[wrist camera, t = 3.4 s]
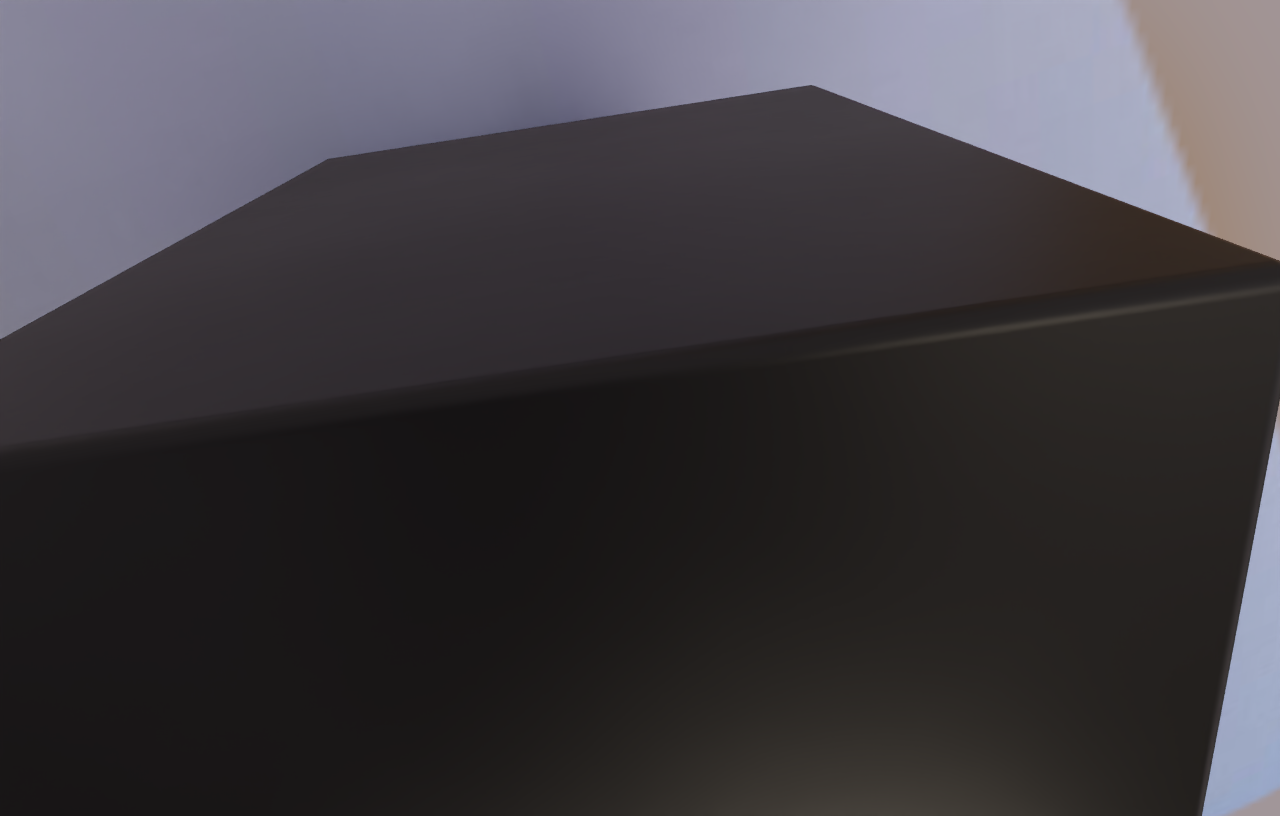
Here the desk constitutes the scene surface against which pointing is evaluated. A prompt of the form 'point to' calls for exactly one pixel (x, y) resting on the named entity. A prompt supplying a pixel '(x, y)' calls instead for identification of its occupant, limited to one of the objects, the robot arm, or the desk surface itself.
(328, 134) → the desk surface
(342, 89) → the desk surface
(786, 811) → the clock
